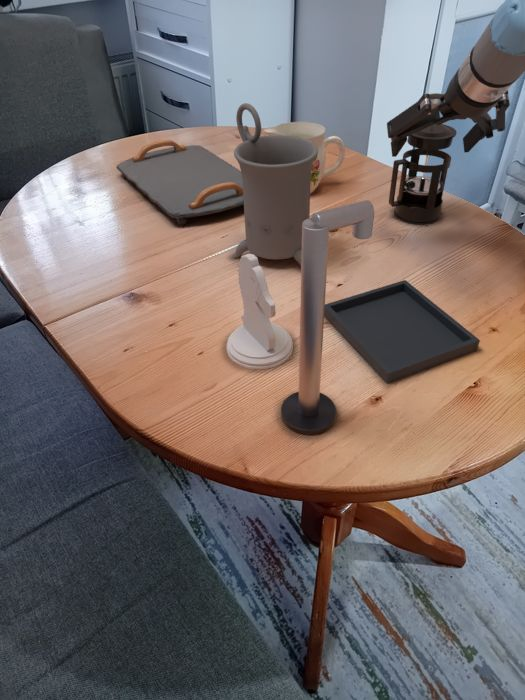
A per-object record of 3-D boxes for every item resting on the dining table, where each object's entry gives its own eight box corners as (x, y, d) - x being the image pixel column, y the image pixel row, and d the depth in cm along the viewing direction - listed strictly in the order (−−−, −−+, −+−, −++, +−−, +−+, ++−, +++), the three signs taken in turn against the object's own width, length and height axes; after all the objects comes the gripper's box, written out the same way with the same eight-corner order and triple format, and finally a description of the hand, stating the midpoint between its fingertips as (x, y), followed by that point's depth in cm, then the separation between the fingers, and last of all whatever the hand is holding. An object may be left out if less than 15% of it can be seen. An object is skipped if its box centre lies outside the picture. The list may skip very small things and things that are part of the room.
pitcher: (349, 194, 118) (355, 130, 110) (270, 203, 116) (268, 139, 107) (334, 175, 127) (338, 114, 118) (260, 183, 124) (258, 122, 115)
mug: (338, 258, 98) (348, 115, 82) (275, 287, 91) (273, 139, 75) (273, 222, 110) (271, 90, 93) (213, 245, 103) (200, 108, 87)
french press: (430, 201, 115) (451, 85, 100) (452, 221, 108) (479, 99, 93) (378, 208, 113) (392, 91, 98) (397, 229, 106) (416, 106, 91)
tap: (337, 382, 74) (354, 186, 55) (366, 416, 69) (395, 214, 50) (272, 406, 70) (267, 207, 52) (296, 443, 66) (300, 238, 47)
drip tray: (403, 289, 90) (405, 279, 89) (477, 350, 78) (480, 340, 76) (322, 315, 85) (322, 304, 84) (386, 384, 73) (388, 373, 72)
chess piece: (248, 379, 74) (242, 289, 65) (215, 341, 81) (205, 254, 71) (306, 353, 78) (308, 264, 68) (270, 319, 85) (267, 234, 75)
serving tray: (276, 205, 115) (276, 177, 111) (179, 235, 106) (174, 206, 102) (196, 152, 141) (193, 127, 137) (111, 172, 132) (106, 147, 128)
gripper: (400, 110, 77) (365, 171, 98) (567, 100, 78) (497, 163, 100) (394, 60, 78) (361, 131, 99) (561, 52, 79) (492, 124, 100)
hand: (429, 147), depth 99 cm, fingers open, 13 cm apart
